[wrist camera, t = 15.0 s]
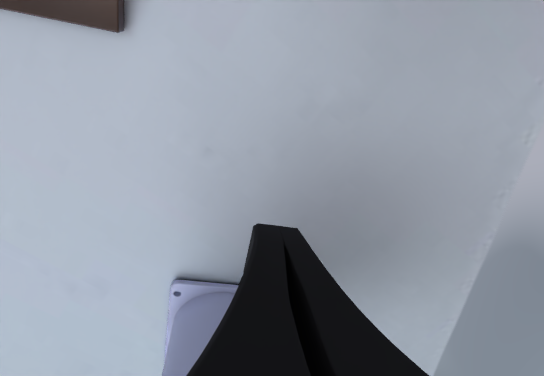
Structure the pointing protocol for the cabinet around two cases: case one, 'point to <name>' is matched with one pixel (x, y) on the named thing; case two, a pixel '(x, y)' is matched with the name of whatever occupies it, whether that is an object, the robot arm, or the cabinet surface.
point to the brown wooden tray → (74, 11)
